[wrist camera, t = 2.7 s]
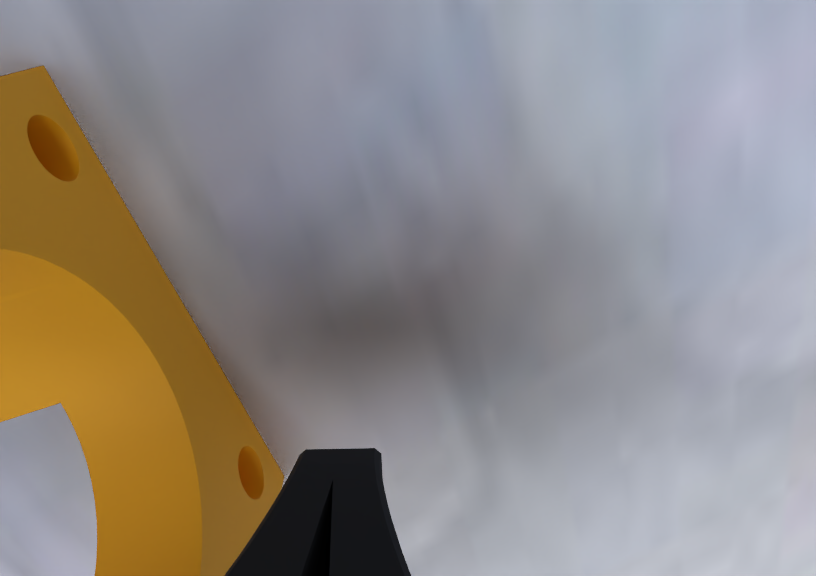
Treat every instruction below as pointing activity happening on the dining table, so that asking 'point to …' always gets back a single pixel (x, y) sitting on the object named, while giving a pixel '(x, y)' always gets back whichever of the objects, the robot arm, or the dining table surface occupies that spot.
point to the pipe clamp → (117, 355)
